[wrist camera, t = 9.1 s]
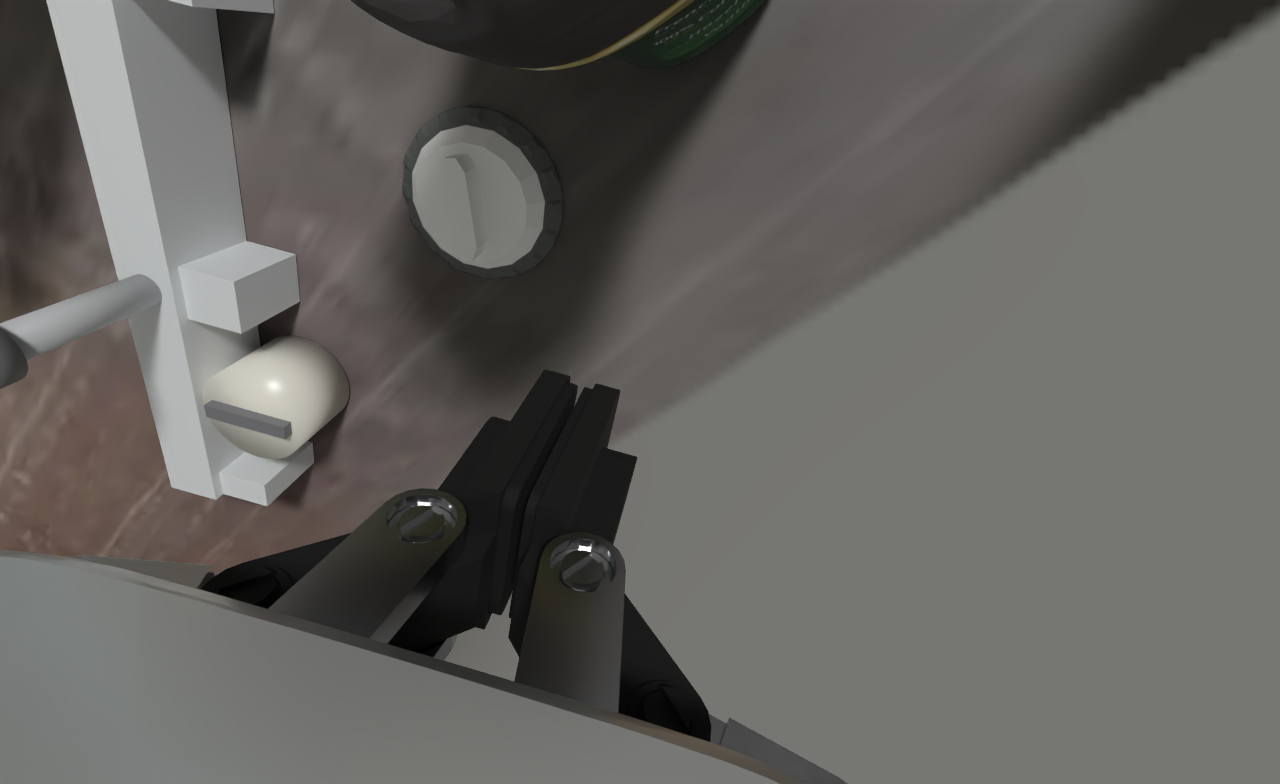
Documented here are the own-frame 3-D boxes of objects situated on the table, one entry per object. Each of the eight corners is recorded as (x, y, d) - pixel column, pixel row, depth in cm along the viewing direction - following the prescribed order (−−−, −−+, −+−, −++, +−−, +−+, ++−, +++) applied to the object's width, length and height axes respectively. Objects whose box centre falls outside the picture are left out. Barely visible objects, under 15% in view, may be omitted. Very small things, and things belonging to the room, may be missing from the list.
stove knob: (559, 102, 24) (537, 108, 21) (573, 278, 27) (556, 301, 25) (390, 105, 25) (350, 111, 22) (425, 274, 28) (394, 295, 26)
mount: (268, -48, 22) (-112, -129, 12) (314, 462, 35) (145, 621, 25) (144, -81, 22) (-330, -186, 13) (234, 439, 35) (35, 589, 25)
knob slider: (347, 349, 31) (289, 392, 27) (351, 427, 33) (298, 476, 29) (256, 324, 31) (185, 363, 27) (266, 403, 33) (203, 449, 30)
